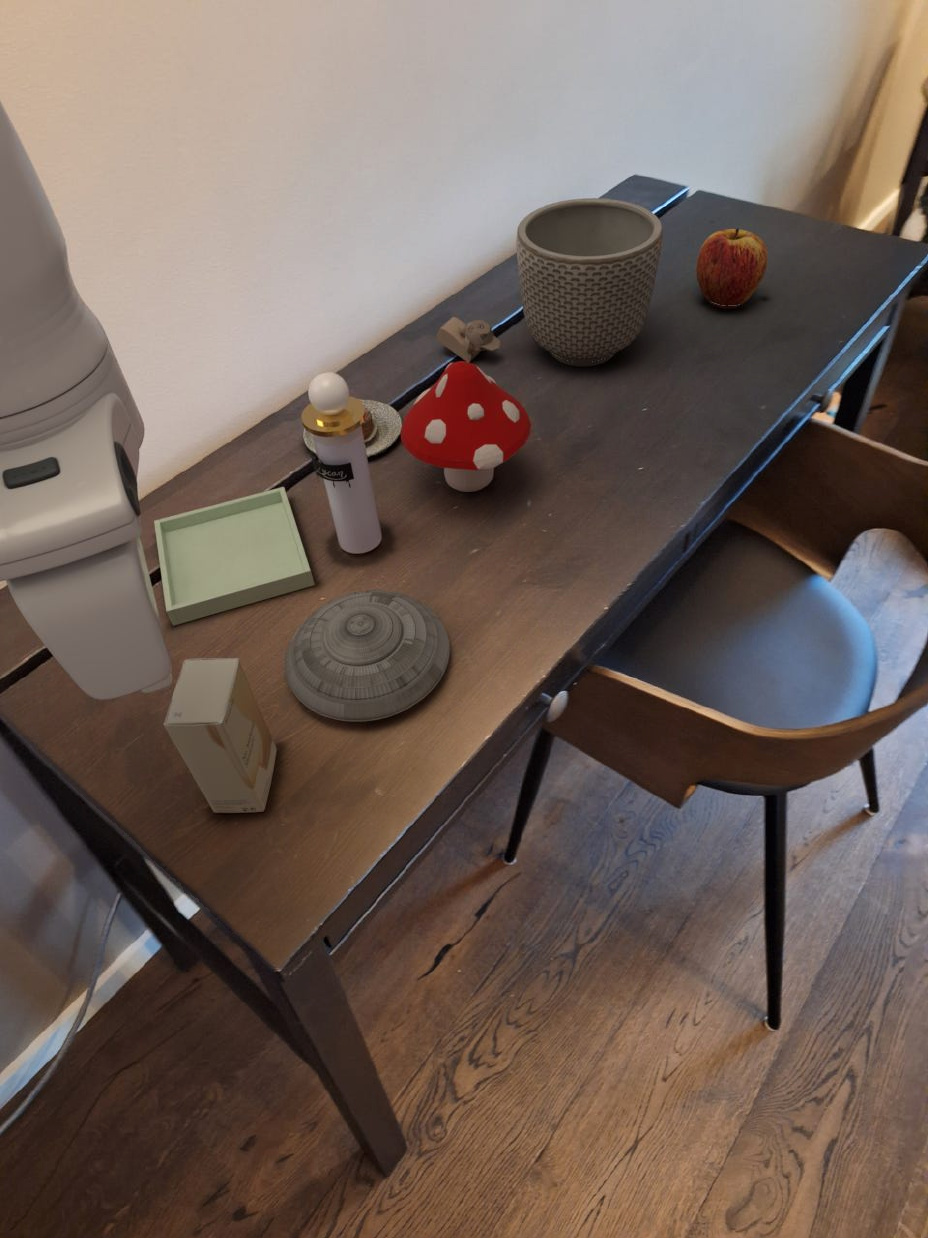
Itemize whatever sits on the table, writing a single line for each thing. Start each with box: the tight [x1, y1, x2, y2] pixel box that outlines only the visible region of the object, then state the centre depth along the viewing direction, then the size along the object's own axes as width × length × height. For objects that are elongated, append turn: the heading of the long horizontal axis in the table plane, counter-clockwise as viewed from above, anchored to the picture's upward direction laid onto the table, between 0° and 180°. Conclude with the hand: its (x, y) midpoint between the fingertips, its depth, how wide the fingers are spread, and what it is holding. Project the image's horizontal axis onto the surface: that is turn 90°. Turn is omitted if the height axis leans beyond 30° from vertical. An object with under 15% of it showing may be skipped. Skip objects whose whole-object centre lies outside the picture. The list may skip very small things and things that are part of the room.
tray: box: [153, 486, 316, 626], centre depth 84 cm, size 14×14×2 cm
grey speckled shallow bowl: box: [302, 398, 403, 458], centre depth 97 cm, size 12×12×5 cm
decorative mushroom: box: [400, 360, 532, 493], centre depth 85 cm, size 14×14×15 cm
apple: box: [695, 228, 768, 310], centre depth 110 cm, size 9×9×10 cm
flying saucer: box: [284, 589, 451, 723], centre depth 73 cm, size 15×15×6 cm
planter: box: [515, 197, 664, 368], centre depth 102 cm, size 17×17×16 cm
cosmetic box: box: [163, 657, 278, 814], centre depth 63 cm, size 6×4×12 cm
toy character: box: [435, 316, 502, 363], centre depth 107 cm, size 4×8×6 cm, turn 58°
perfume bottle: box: [301, 371, 383, 554], centre depth 78 cm, size 6×6×20 cm
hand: (143, 622), depth 47 cm, fingers open, 8 cm apart
